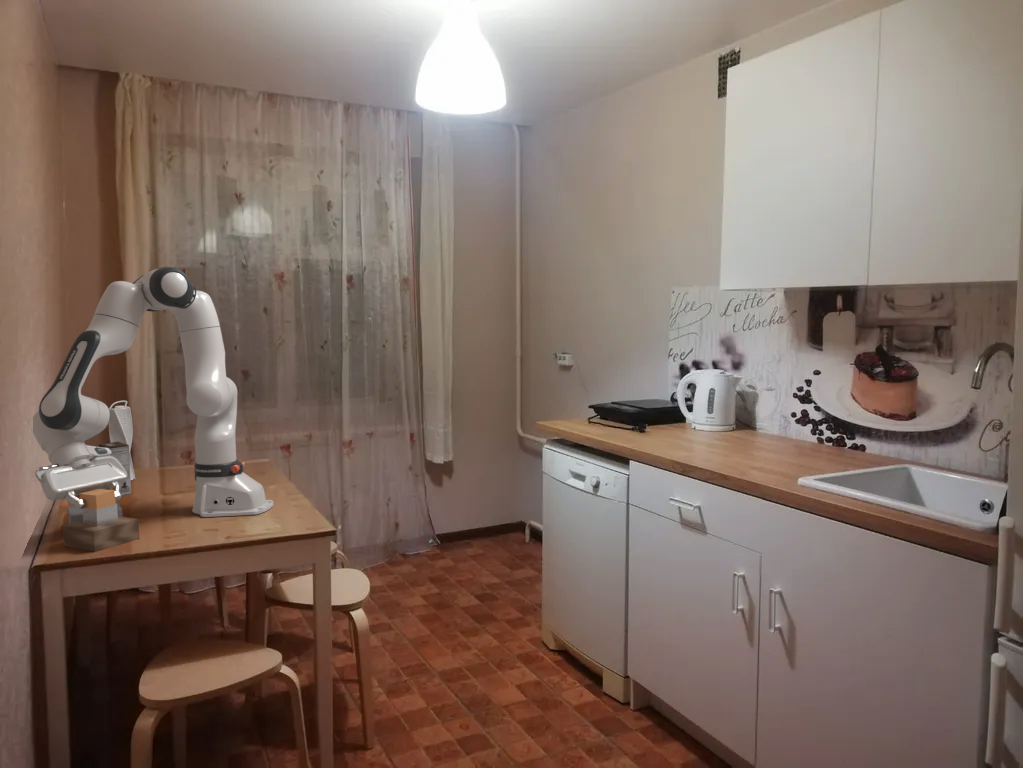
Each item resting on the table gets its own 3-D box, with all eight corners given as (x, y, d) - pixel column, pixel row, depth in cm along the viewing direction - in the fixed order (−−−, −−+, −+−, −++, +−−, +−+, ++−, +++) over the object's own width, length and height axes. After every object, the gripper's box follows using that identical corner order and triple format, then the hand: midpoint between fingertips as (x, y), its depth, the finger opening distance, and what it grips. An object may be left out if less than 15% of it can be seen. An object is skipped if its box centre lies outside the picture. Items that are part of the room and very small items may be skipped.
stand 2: (108, 532, 198) (107, 514, 197) (139, 538, 192) (138, 519, 192) (64, 545, 187) (62, 525, 187) (95, 551, 182) (93, 531, 181)
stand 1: (118, 518, 212) (117, 500, 212) (123, 527, 202) (122, 509, 202) (69, 524, 206) (68, 506, 205) (71, 535, 196) (70, 516, 195)
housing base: (104, 518, 193) (102, 501, 192) (118, 521, 190) (116, 503, 190) (83, 523, 188) (82, 506, 188) (97, 526, 185) (96, 508, 185)
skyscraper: (118, 479, 265) (113, 400, 262) (140, 479, 265) (136, 400, 262) (104, 484, 257) (99, 403, 254) (127, 484, 256) (122, 402, 254)
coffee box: (100, 493, 243) (97, 443, 242) (121, 489, 248) (118, 441, 246) (111, 497, 237) (108, 447, 235) (132, 493, 242) (129, 444, 240)
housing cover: (99, 502, 191) (98, 488, 191) (115, 504, 189) (114, 490, 189) (80, 507, 186) (79, 493, 186) (96, 509, 184) (95, 495, 184)
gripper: (36, 460, 182) (64, 504, 178) (115, 447, 200) (141, 486, 196) (27, 477, 184) (54, 521, 181) (105, 462, 202) (131, 501, 199)
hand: (100, 503), depth 189 cm, fingers open, 8 cm apart
